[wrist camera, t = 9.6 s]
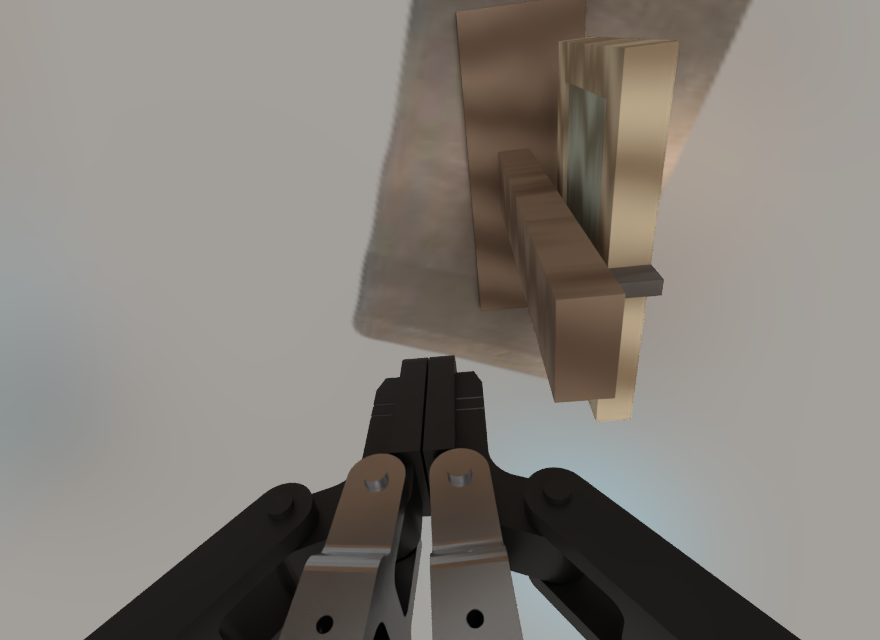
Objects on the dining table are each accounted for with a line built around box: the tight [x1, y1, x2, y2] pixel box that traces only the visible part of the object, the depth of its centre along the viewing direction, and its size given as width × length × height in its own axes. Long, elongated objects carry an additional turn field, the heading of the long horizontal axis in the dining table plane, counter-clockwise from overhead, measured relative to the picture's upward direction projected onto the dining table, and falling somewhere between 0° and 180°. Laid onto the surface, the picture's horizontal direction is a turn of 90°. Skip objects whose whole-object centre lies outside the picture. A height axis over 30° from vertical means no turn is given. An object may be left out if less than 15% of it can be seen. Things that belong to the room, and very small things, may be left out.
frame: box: [557, 37, 680, 422], centre depth 34 cm, size 24×2×18 cm, turn 7°
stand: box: [456, 0, 626, 403], centre depth 35 cm, size 30×11×32 cm, turn 7°
